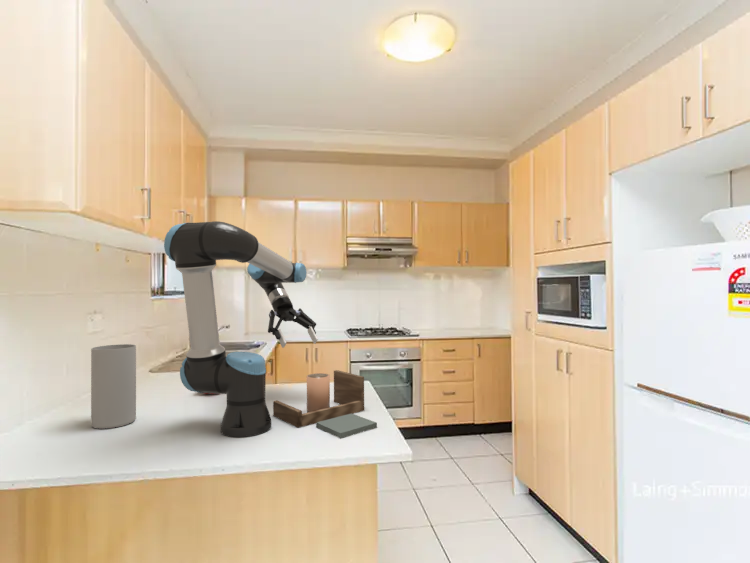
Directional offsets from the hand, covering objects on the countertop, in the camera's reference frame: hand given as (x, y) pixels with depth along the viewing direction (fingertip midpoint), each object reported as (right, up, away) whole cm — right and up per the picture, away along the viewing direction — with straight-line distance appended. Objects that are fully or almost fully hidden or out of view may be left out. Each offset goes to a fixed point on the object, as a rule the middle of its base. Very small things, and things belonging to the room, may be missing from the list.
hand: (300, 343), depth 156 cm
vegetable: (-41, -24, +17) cm, 51 cm away
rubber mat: (+19, -22, -26) cm, 39 cm away
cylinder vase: (-58, -23, -20) cm, 65 cm away
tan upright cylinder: (+8, -23, -10) cm, 26 cm away
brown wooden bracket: (+8, -23, -10) cm, 26 cm away
